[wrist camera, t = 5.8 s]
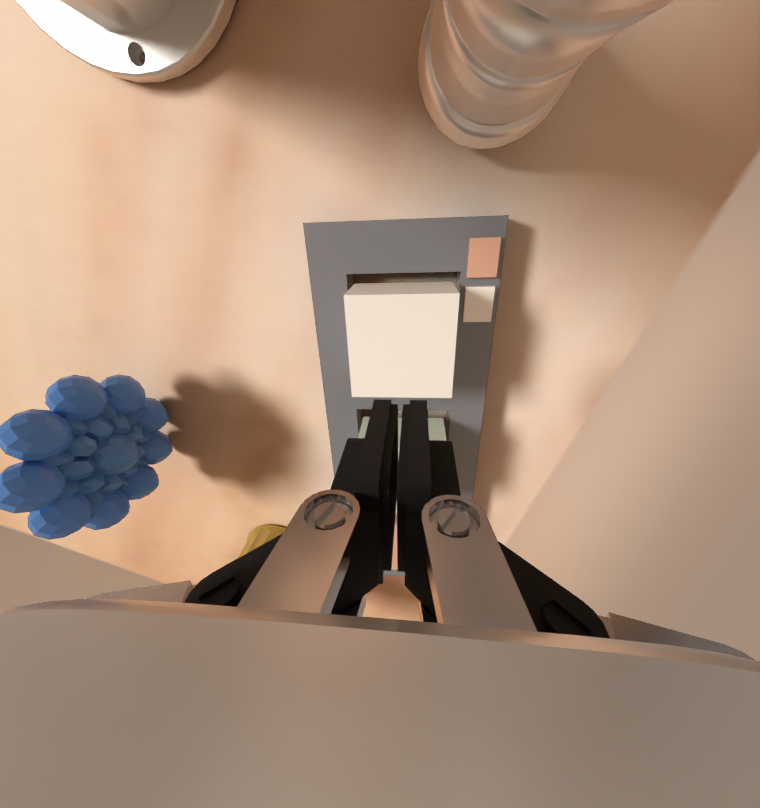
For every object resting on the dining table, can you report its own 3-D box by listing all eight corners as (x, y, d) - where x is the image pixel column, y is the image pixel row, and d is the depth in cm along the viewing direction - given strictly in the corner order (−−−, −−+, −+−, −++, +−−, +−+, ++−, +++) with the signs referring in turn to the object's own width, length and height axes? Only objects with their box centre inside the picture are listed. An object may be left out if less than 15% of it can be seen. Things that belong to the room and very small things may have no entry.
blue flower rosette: (89, 333, 25) (-143, 413, 15) (178, 347, 25) (7, 437, 15) (126, 457, 31) (-23, 579, 20) (199, 468, 31) (87, 596, 20)
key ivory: (354, 283, 20) (343, 295, 17) (452, 281, 19) (459, 293, 16) (360, 372, 22) (351, 396, 19) (446, 372, 22) (451, 398, 19)
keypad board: (312, 223, 20) (301, 223, 18) (499, 216, 19) (510, 215, 17) (349, 555, 34) (345, 575, 32) (458, 561, 33) (461, 583, 31)
